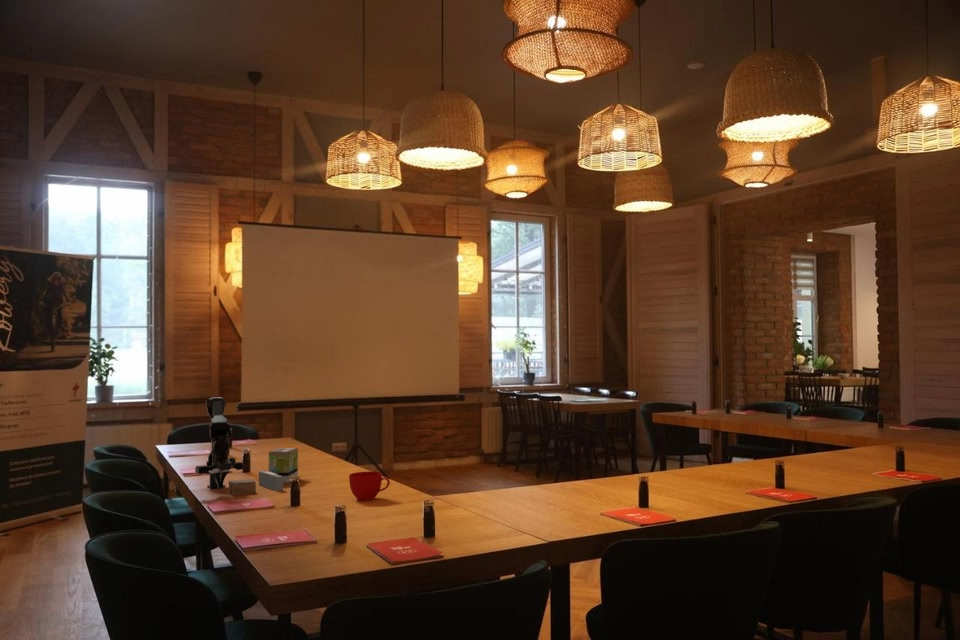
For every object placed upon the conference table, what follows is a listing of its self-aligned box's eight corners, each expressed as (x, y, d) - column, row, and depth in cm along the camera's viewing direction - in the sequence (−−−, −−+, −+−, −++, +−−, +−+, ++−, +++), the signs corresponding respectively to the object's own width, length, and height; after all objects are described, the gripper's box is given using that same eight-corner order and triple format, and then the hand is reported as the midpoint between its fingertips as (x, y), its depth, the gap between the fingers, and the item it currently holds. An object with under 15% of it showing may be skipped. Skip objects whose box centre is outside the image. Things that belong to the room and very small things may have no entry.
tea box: (289, 483, 346) (289, 451, 347) (267, 484, 346) (267, 451, 347) (298, 478, 361) (298, 446, 362) (277, 478, 361) (277, 447, 362)
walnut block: (228, 492, 327) (228, 481, 327) (249, 490, 332) (249, 478, 332) (234, 495, 320) (234, 483, 320) (255, 493, 324) (255, 481, 325)
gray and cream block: (258, 484, 344) (258, 470, 345) (264, 484, 346) (264, 470, 346) (277, 491, 327) (277, 476, 327) (283, 490, 328) (283, 475, 329)
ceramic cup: (382, 503, 294) (381, 477, 295) (343, 501, 300) (343, 476, 300) (396, 497, 306) (396, 472, 307) (359, 495, 312) (358, 471, 312)
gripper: (202, 455, 309) (203, 493, 308) (248, 450, 320) (248, 488, 319) (194, 452, 318) (194, 490, 317) (239, 448, 329) (239, 484, 328)
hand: (219, 488), depth 320 cm, fingers closed
